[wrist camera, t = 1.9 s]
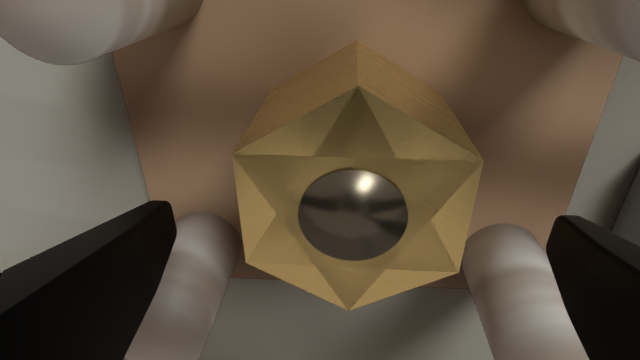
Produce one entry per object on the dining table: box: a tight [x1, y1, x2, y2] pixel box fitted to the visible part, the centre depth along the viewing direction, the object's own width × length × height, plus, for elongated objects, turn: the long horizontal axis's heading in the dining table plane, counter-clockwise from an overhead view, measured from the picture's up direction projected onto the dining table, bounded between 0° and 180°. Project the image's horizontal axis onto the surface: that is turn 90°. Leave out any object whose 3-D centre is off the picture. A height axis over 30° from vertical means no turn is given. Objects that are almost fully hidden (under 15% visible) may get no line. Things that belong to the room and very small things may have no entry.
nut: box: [232, 40, 484, 311], centre depth 12 cm, size 6×6×5 cm
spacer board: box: [0, 0, 640, 360], centre depth 12 cm, size 14×16×6 cm
